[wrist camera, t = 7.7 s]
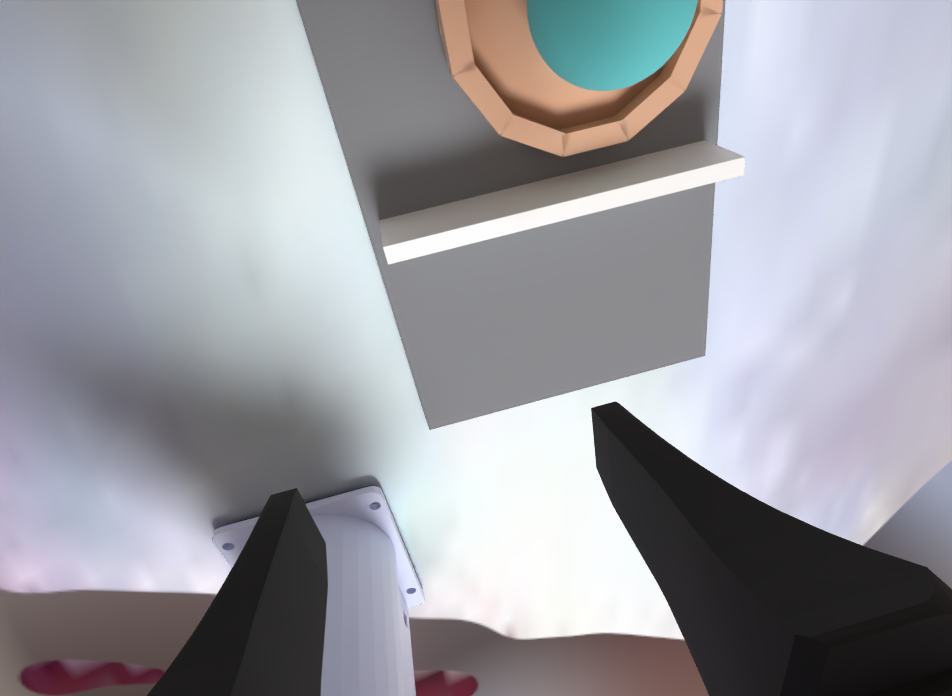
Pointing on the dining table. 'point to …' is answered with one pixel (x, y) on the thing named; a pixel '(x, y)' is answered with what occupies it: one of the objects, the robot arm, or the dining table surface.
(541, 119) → the saucer
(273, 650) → the robot arm
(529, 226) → the wall
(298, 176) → the dining table surface
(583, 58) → the ball
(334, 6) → the mat
